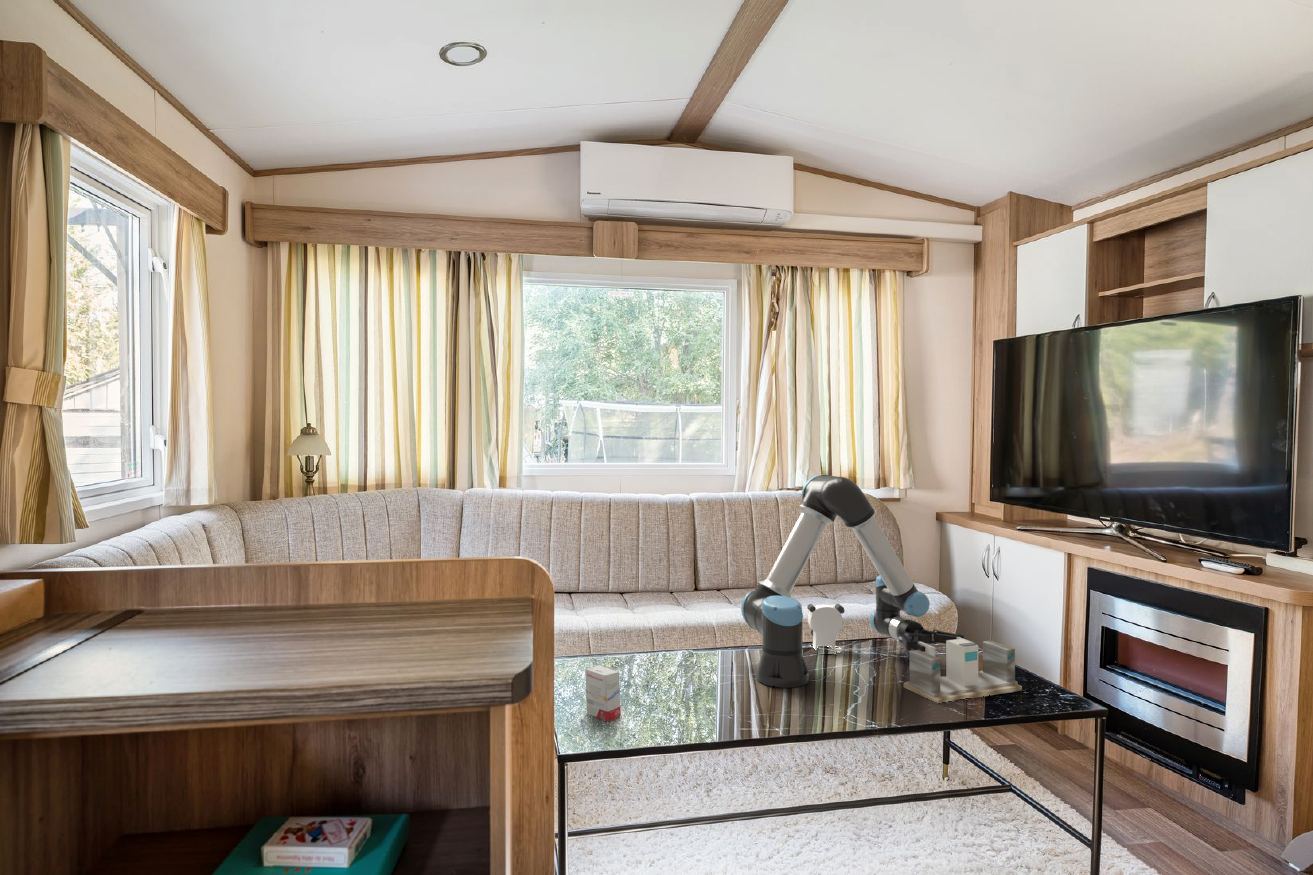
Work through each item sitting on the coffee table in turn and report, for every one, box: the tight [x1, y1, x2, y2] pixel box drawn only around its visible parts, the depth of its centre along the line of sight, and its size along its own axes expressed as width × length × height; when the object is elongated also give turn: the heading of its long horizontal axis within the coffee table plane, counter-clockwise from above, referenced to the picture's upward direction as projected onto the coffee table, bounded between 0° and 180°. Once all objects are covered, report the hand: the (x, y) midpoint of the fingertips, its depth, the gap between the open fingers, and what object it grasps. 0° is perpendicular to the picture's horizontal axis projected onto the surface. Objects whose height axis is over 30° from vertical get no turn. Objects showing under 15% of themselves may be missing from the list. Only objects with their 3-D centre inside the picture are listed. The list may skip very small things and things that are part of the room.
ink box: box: [584, 664, 622, 722], centre depth 196 cm, size 9×5×12 cm, turn 44°
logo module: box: [945, 639, 979, 687], centre depth 214 cm, size 5×7×11 cm
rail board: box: [903, 640, 1023, 704], centre depth 214 cm, size 29×14×11 cm, turn 110°
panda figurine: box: [807, 603, 845, 655], centre depth 252 cm, size 12×11×15 cm
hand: (954, 649), depth 217 cm, fingers open, 13 cm apart
